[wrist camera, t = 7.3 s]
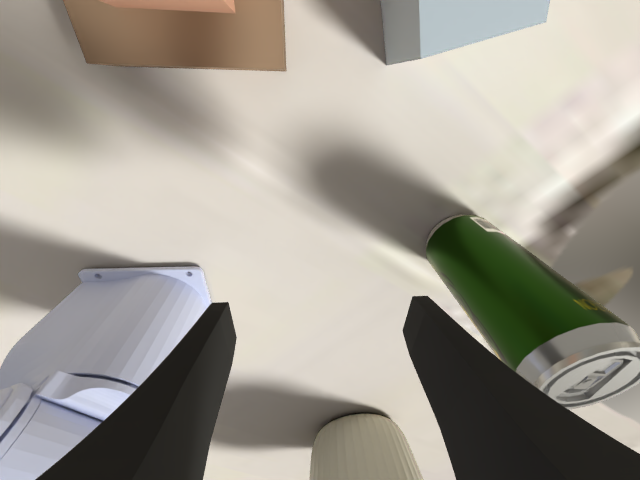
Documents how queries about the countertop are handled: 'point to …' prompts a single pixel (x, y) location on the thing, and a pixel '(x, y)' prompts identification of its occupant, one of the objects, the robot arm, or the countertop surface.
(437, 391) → the robot arm
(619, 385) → the beer can
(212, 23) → the walnut slab
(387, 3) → the slate cube
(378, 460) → the canister
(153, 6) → the terracotta cube
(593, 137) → the countertop surface
